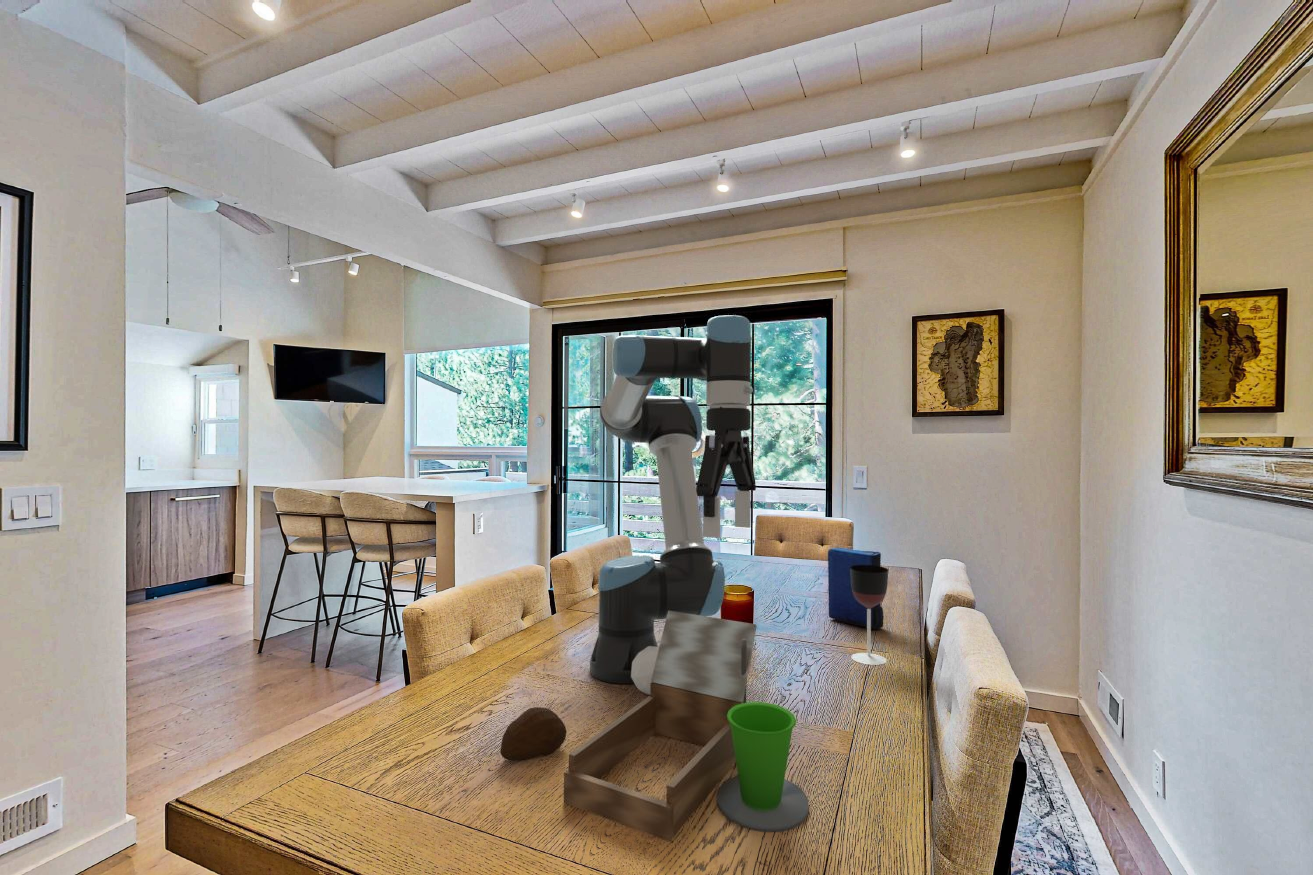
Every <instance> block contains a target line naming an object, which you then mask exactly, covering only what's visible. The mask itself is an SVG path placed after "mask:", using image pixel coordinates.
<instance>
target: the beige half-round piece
mask: <svg viewBox="0 0 1313 875" xmlns="http://www.w3.org/2000/svg"><path fill="white" fill-rule="evenodd" d="M658 651H659V646H658V647H654V646H648V647H647V648H645V649H644V650H642V651H641V652H639V653H638V654H637V656H636V657H635V659H634V660H633V662H632V670H631V678H632V680H633V681H634V683H633V684H634V685H635V686H636V688H637V689H638V690H639V691H640V692H642V693H644V694H645V695H649V696H650V683H652V682H651V679H652V675H653V671H654V667H655V663H656V659H657V655H658Z"/></svg>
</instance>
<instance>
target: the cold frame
mask: <svg viewBox="0 0 1313 875" xmlns="http://www.w3.org/2000/svg"><path fill="white" fill-rule="evenodd" d="M662 630H663V631H662V635H661V639H660V643H659V646H658V647H659V651H658V655H657V659H656V663H655V667H654V671H653V675H652V679H651V682H652V683H650V695H649V696H648V697H646V698H644V699H643V700H642V701H640V702H639V703H638V704H636V705H635V706H633V707H632V708H631V709H630V710H628V711H627V712H625V713H623V714H622V715H621V716H620V717H618V718H617V719H616V720H614V721H613V722H611V723H610V724H608V725H607V726H605V727H604V728H603V729H602V730H600V731H599V732H597V733H596V734H594V735H593V736H592V737H590V738H589V739H588V740H586V741H585V742H584V743H582V744H580V745H579V746H578V747H576V748H575V749H573V750H572V751H570V752H569V753H568V768H567V769H566V770H565V771H564V772H563V803H564V804H566V805H568V806H572V807H575V808H577V809H580V810H582V811H585V812H588V813H591V814H594V815H596V816H599V817H601V818H605V819H608V820H610V821H613V822H616V823H618V824H621V825H623V826H626V827H627V828H628V827H629V828H631V829H634V830H637V831H639V832H643V833H645V834H647V835H651V836H654V837H656V838H659V839H660V840H661V839H662V840H664V841H666V842H671V841H672V840H673V838H674V837H675V836H676V835H677V834H678V832H679V831H680V830H681V829H682V828H683V826H684V825H685V824H686V823H687V822H688V820H690V818H691V817H692V815H693V814H694V813H695V812H696V811H697V810H698V809H699V807H700V806H701V805H702V804H703V802H704V801H705V800H706V799H707V798H708V796H709V795H710V794H711V793H712V791H713V790H714V789H715V788H716V787H717V786H718V784H719V783H720V782H721V781H722V779H723V778H724V777H725V776H726V775H727V774H728V772H729V771H730V770H731V769H732V768H733V766H734V765H735V764H736V758H735V751H734V745H733V738H732V731H731V725H730V722H729V721H728V719H727V714H728V711H729V710H730V709H731V708H732V707H734V706H736V705H739V704H742V703H747V683H748V677H749V673H750V672H749V671H750V665H751V660H752V655H753V648H754V644H755V637H756V633H757V632H756V631H757V625H756V623H749V622H743V621H737V620H731V619H724V618H719V617H718V618H717V617H714V616H700V615H694V614H687V613H681V612H675V611H668V614H667V618H666V619H665V621H664V626H663V629H662ZM655 734H657V735H661V736H665V737H668V738H671V739H675V740H679V741H684V742H687V743H691V744H694V745H698V746H700V747H701V746H702V748H701V749H700V751H698V753H696V754H695V755H694V756H693V758H692V759H691V760H689V761H688V763H687V764H685V766H684V767H683V768H682V769H681V770H680V771H679V772H678V773H677V774H675V776H674V777H673V778H672V779H671V780H670V781H669V782H668V783H667V784H666V786H665V787H666V800H663V799H660V798H657V797H653V796H651V795H648V794H644V793H642V792H638V791H635V790H633V789H630V788H627V787H624V786H621V785H617V784H614V783H611V782H609V781H605V780H604V779H602V778H604V777H605V776H606V775H607V774H608V773H610V772H611V771H612V770H613V769H614V768H616V766H619V764H621V763H622V762H623V761H624V760H625V759H626V758H628V757H629V756H630V755H632V753H633V752H635V751H636V750H637V749H638V748H639V747H641V746H642V745H643V744H644V743H645V742H647V741H648V740H649V739H651V737H653V736H654V735H655Z"/></svg>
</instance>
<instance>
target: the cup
mask: <svg viewBox="0 0 1313 875" xmlns="http://www.w3.org/2000/svg"><path fill="white" fill-rule="evenodd" d="M727 719H728V721H729V722H730V725H731V731H732V738H733V745H734V751H735V758H736V763H735V764H736V771H737V775H738V778H739V785H740V792H741V797H742V799H743V801H744V803H745V804H746V805H747V806H749V807H750V808H753V809H756V810H761V811H768V810H772V809H775V808H776V807H778V805H779V803H780V801H781V797H782V791H783V785H784V779H786V778H785V777H786V771H787V764H788V759H789V753H790V746H791V742H792V741H791V740H792V734H793V730H794V727H795V726H796V725H797V724H796V723H797V720H796V716H795V715H794V714H793V713H792V711H791V710H789V709H787V708H785V707H783V706H780V705H777V704H774V703H770V702H769V703H768V702H761V701H759V702H758V701H755V702H754V701H749V702H746V703H742V704H739V705H736V706H734V707H732V708H731V709H730V710H729V711H728V714H727Z"/></svg>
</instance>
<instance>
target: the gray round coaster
mask: <svg viewBox="0 0 1313 875" xmlns="http://www.w3.org/2000/svg"><path fill="white" fill-rule="evenodd" d="M716 791H717V792H716V804H717V805H716V806H717V807H718V809H719V811H720V813H721V814H722V815H723V816H724V817H725V818H727V819H728V820H729V821H730V822H732V823H734V824H735V825H737V826H740V827H742V828H745V829H747V830H751V831H757V832H763V833H779V832H784V831H785V832H786V831H789V830H792V829H794V828H797V827H799V826H800V825H802V824H803V823H804V822H805V821H806V819H807V818H808V816H809V812H810V811H809V799H808V796H807V795H806V793H805V791H803V789H802V788H801V787H799V786H798V785H797V784H795V783H794V782H792V781H790V780H788V779H787V778H784V785H783V791H782V797H781V801H780V803H779V805H778V807H776V808H775V809H772V810H768V811H761V810H756V809H753V808H750V807H749V806H747V805H746V804H745V803H744V801H743V799H742V797H741V792H740V785H739V778H738V774H737V775H734V776H730V777H729V778H727V779H725V780H724V781H722V782H721V784H720V785H719V787H718V788H717V790H716Z"/></svg>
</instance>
